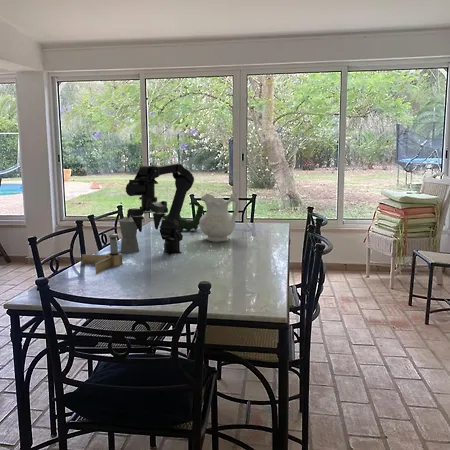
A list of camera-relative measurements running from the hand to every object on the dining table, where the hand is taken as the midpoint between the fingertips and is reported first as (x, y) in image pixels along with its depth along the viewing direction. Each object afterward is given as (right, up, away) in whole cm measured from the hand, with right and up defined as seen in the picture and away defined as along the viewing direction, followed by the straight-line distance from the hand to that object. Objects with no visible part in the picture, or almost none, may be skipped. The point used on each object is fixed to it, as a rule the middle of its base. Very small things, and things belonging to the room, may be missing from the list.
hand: (148, 230), depth 198 cm
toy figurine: (+8, -1, +70) cm, 71 cm away
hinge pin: (-13, -14, -6) cm, 20 cm away
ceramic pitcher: (+31, -6, +45) cm, 54 cm away
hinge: (-17, -15, -8) cm, 24 cm away
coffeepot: (-13, -10, +20) cm, 26 cm away
